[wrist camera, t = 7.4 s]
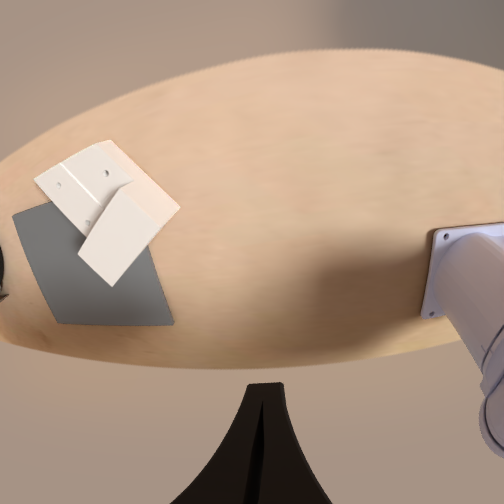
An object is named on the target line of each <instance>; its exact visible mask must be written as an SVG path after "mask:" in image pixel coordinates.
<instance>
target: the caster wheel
mask: <svg viewBox="0 0 504 504" xmlns="http://www.w3.org/2000/svg"><path fill="white" fill-rule="evenodd" d="M2 277H3V258H2V253H1V249H0V284H1V281H2ZM0 291H1V286H0ZM7 296H9V295H7ZM7 296H5V297H3V298H2V299H0V302H1V301H2V300H4V299H5V298H6V297H7Z"/></svg>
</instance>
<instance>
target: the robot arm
mask: <svg viewBox="0 0 504 504" xmlns="http://www.w3.org/2000/svg"><path fill="white" fill-rule="evenodd" d="M446 233H447V234H446ZM445 234H446V237H444V235H445ZM431 312H432V313H431ZM443 315H446V316H447V317H448V319H449V320H450V322H451V323H452V325H453V326H454V328H455V329H456V331H457V332H458V334H459V335H460V337H461V339H462V340H463V342H464V343H465V345H466V347H467V348H468V350H469V352H470V353H471V355H472V357H473V358H474V360H475V362H476V363H477V365H478V367H479V369H480V371H481V372H482V374H483V380H482V382H481V383H480V387H481V390H482V391H483V393H484V396H485V398H484V400H483V402H482V404H481V407H480V411H479V426H480V431H481V434H482V437H483V439H484V441H485V443H486V444H487V445H488V447H489V448H490V449H491V450H492V451H493V452H494V453H495V454H497V455H498V456H500V457H502V458H504V223H495V224H485V225H475V226H465V227H454V228H444V229H438V230H436V231H435V233H434V236H433V244H432V252H431V260H430V267H429V273H428V279H427V285H426V290H425V295H424V300H423V305H422V310H421V317H422V318H423V319H429V318H434V317H438V316H443ZM170 504H332V502H331V501H330V499H329V498H328V496H327V495H326V493H325V492H324V490H323V489H322V487H321V485H320V484H319V482H318V481H317V479H316V477H315V475H314V474H313V472H312V470H311V468H310V466H309V464H308V462H307V460H306V458H305V456H304V454H303V452H302V450H301V447H300V445H299V443H298V440H297V438H296V435H295V433H294V430H293V427H292V424H291V421H290V418H289V415H288V411H287V407H286V400H285V392H284V385H283V383H281V382H277V383H258V384H249V385H248V386H247V388H246V392H245V395H244V397H243V400H242V403H241V405H240V408H239V410H238V412H237V414H236V416H235V418H234V420H233V423H232V424H231V426H230V429H229V430H228V433H227V434H226V436H225V437H224V439H223V441H222V442H221V444H220V446H219V447H218V449H217V450H216V452H215V453H214V455H213V456H212V458H211V459H210V461H209V462H208V463H207V465H206V466H205V467H204V469H203V470H202V471H201V472H200V473H199V475H198V476H197V477H196V478H195V479H194V481H193V482H192V483H191V484H190V485H189V486H188V487H187V488H186V489H185V490H184V491H183V492H182V493H181V494H180V495H179V496H178V497H177V498H176V499H175V500H173V502H171V503H170Z"/></svg>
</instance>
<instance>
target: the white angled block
mask: <svg viewBox="0 0 504 504" xmlns="http://www.w3.org/2000/svg"><path fill="white" fill-rule="evenodd" d="M33 180H34V181H35V182H36V183H37V185H38V186H39V187H40V188H41V189H42V190H43V191H44V193H45V194H46V195H47V196H48V197H49V198H50V199H51V200H52V202H53V203H54V204H55V205H56V206H57V207H58V208H59V209H60V210H61V211H62V212H63V214H64V215H65V216H66V217H67V218H68V219H69V220H70V221H71V222H72V223H73V224H74V225H75V226H76V227H77V228H78V229H79V230H80V231H81V232H82V233H83V234H84V235H85V236H86V237H87V239H86V240H85V242H84V244H83V245H82V247H81V249H80V250H79V252H78V255H79V256H80V257H81V258H82V259H83V260H84V261H85V262H86V263H87V264H88V265H89V266H90V267H91V268H92V269H93V270H94V271H95V272H96V273H97V274H98V275H100V276H101V277H102V278H103V279H104V280H105V281H106V282H107V283H108V284H109V285H110V286H112V287H113V285H114V284H115V283H116V282H117V281H118V279H119V278H120V277H121V276H122V275H123V273H124V272H125V271H126V270H127V269H128V268H129V266H130V265H131V264H132V263H133V262H134V260H135V259H136V258H137V257H138V256H139V254H140V253H141V252H142V251H143V250H144V249H145V247H146V246H147V245H148V244H149V243H150V241H151V240H152V239H153V238H154V237H155V236H156V235H157V233H158V232H159V231H160V230H161V229H162V228H163V227H164V225H165V224H166V223H167V222H168V221H169V220H170V219H171V218H172V216H173V215H174V214H175V213H176V212H177V211H178V210H179V209H180V208H181V207H180V206H179V205H178V204H177V203H176V202H175V201H174V200H173V199H172V198H171V197H170V196H169V195H168V194H167V193H165V192H164V191H163V190H162V189H161V188H160V187H159V186H158V185H157V184H156V183H155V182H154V181H153V180H152V179H151V178H150V177H149V176H148V175H147V174H146V173H145V172H143V171H142V170H141V169H140V168H139V167H138V166H137V165H136V164H135V163H134V162H133V161H132V160H131V159H130V158H129V157H128V156H127V155H126V154H125V153H124V152H123V151H122V150H121V149H120V148H119V147H118V146H116V145H115V144H114V143H113V142H112V141H111V140H107V141H103V142H98V143H95V144H93V145H91V146H89V147H87V148H85V149H83V150H81V151H80V152H78V153H76V154H74V155H72V156H71V157H69V158H67V159H65V160H63V161H62V162H61V163H58V164H57V165H55V166H53V167H52V168H50V169H48V170H47V171H45V172H43V173H42V174H40V175H39V176H37V177H36V178H34V179H33Z"/></svg>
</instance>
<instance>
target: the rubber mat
mask: <svg viewBox="0 0 504 504" xmlns="http://www.w3.org/2000/svg"><path fill="white" fill-rule="evenodd" d="M12 218H13V221H14V224H15V227H16V230H17V233H18V236H19V239H20V241H21V244H22V247H23V249H24V252H25V255H26V257H27V260H28V262H29V264H30V267H31V269H32V272H33V274H34V276H35V278H36V281H37V283H38V285H39V287H40V289H41V291H42V293H43V296H44V298H45V300H46V302H47V304H48V306H49V308H50V309H51V311H52V313H53V315H54V317H55V319H56V321H57V323H63V324H83V325H118V326H165V325H173V324H174V320H173V318H172V315H171V312H170V310H169V307H168V304H167V301H166V299H165V296H164V293H163V290H162V287H161V284H160V282H159V279H158V276H157V273H156V270H155V266H154V263H153V260H152V257H151V254H150V251H149V248H148V245H147V246H146V247H145V249H144V250H143V251H142V252H141V253H140V254H139V256H138V257H137V258H136V259H135V260H134V262H133V263H132V264H131V265H130V266H129V268H128V269H127V270H126V271H125V272H124V273H123V275H122V276H121V277H120V278H119V279H118V281H117V282H116V283H115V284H114V285H113V287H112V286H110V285H109V284H108V283H107V282H106V281H105V280H104V279H103V278H102V277H101V276H100V275H98V274H97V273H96V272H95V271H94V270H93V269H92V268H91V267H90V266H89V265H88V264H87V263H86V262H85V261H84V260H83V259H82V258H81V257H80V256H79V255H78V252H79V250H80V249H81V247H82V245H83V244H84V242H85V240H86V239H87V237H86V236H85V235H84V234H83V233H82V232H81V231H80V230H79V229H78V228H77V227H76V226H75V225H74V224H73V223H72V222H71V221H70V220H69V219H68V218H67V217H66V216H65V215H64V214H63V212H62V211H61V210H60V209H59V208H58V207H57V206H56V205H55V204H54V203H53V202H52V201H51V202H48V203H45V204H42V205H39V206H36V207H34V208H31V209H28V210H25V211H23V212H20V213H18V214H15V215H13V216H12Z"/></svg>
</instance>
